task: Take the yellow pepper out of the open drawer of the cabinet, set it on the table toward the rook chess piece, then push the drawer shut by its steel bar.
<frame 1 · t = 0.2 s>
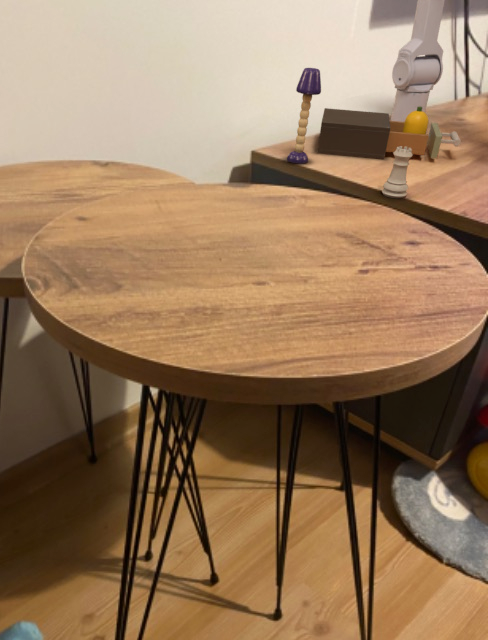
toy lamp: (298, 161, 131), on the table
rook chess piece: (393, 195, 116), on the table
drawer: (416, 138, 136), point 3 cm above the table, slide at 9.0 cm, touching pepper
pepper: (411, 145, 135), point 2 cm above the table, touching drawer
cabinet: (350, 147, 139), on the table
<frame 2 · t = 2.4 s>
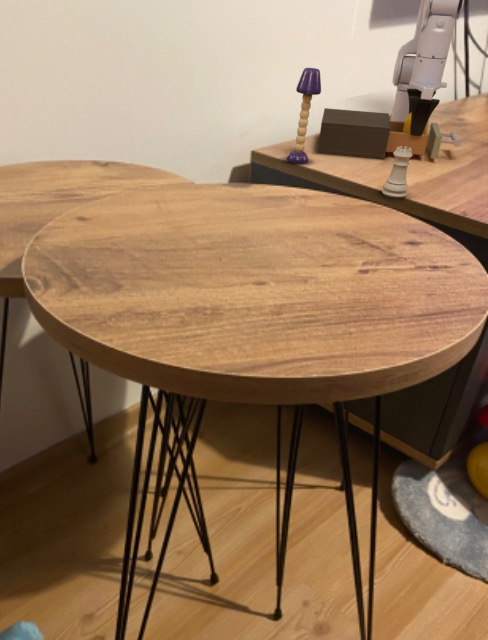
hand: (414, 131, 133), 5 cm above the table, tool pointing down, fingers open, 6 cm apart
drawer: (416, 138, 136), point 3 cm above the table, slide at 9.0 cm, touching gripper, pepper
everything else where it was.
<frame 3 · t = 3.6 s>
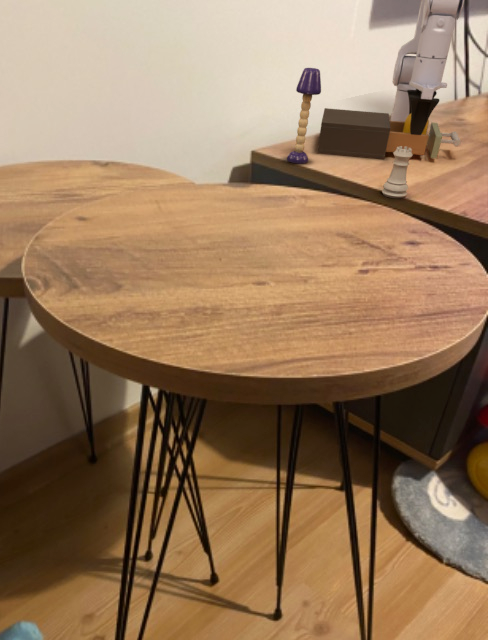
hand: (414, 131, 133), 5 cm above the table, tool pointing down, fingers closed on pepper, 5 cm apart
pepper: (411, 145, 135), point 2 cm above the table, touching drawer, gripper
everything else where it was.
when the fingers open (3 cm above the table, at t = 8.9 s): pepper stays where it is, on the table.
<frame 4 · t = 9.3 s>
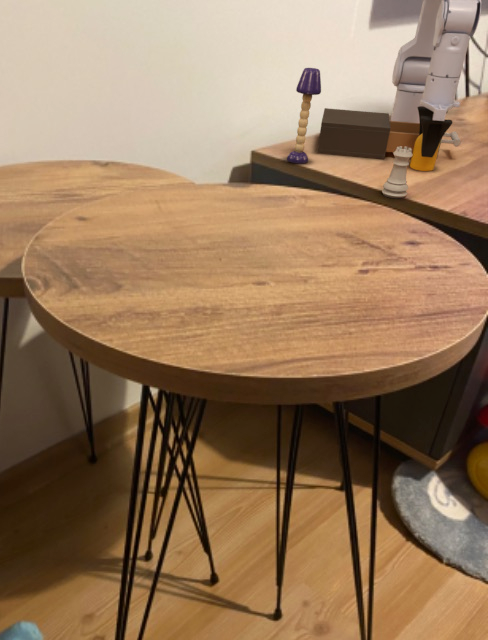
hand: (425, 151, 128), 3 cm above the table, tool pointing down, fingers open, 7 cm apart
drawer: (416, 138, 136), point 3 cm above the table, slide at 9.0 cm, touching gripper
pepper: (421, 167, 130), on the table
everything else where it was.
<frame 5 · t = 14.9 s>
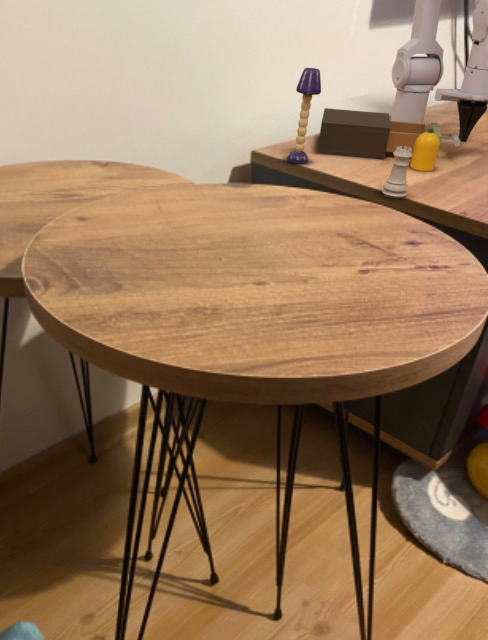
hand: (462, 140, 134), 3 cm above the table, tool pointing down, fingers closed
nothing on the table moved.
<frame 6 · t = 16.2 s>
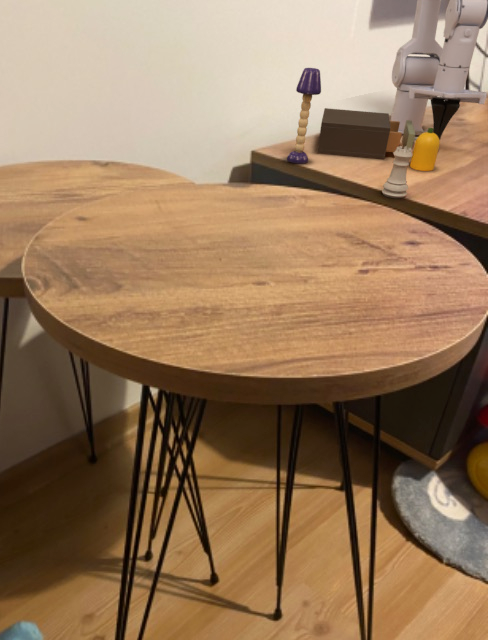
hand: (436, 138, 135), 3 cm above the table, tool pointing down, fingers closed
drawer: (390, 136, 136), point 3 cm above the table, slide at 3.8 cm, touching gripper
everything else where it was.
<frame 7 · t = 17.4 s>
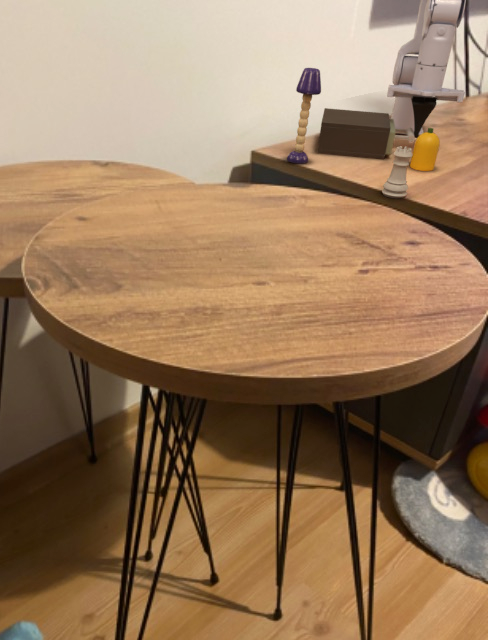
hand: (415, 136, 135), 3 cm above the table, tool pointing down, fingers closed
drawer: (372, 134, 137), point 3 cm above the table, slide at 0.0 cm, touching cabinet, gripper
everything else where it was.
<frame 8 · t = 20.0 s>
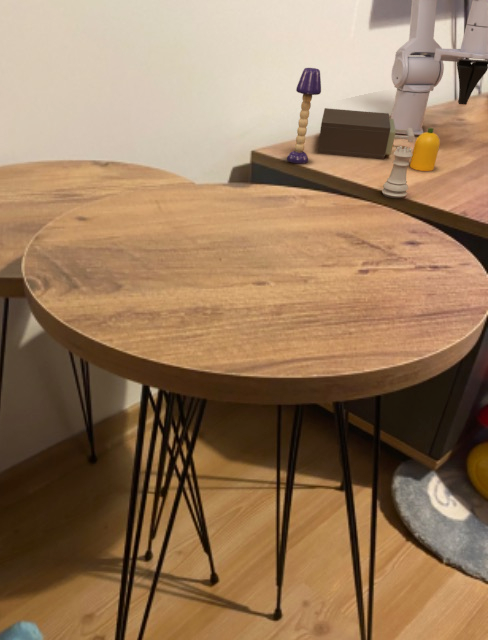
hand: (462, 103, 130), 10 cm above the table, tool pointing down, fingers closed
drawer: (372, 134, 137), point 3 cm above the table, slide at 0.0 cm, touching cabinet
everything else where it was.
at the end: pepper inside the target area on the table beside the rook chess piece (0.5 cm from its centre), on the table; pepper tilted 0°; drawer slide at 0.0 cm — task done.
